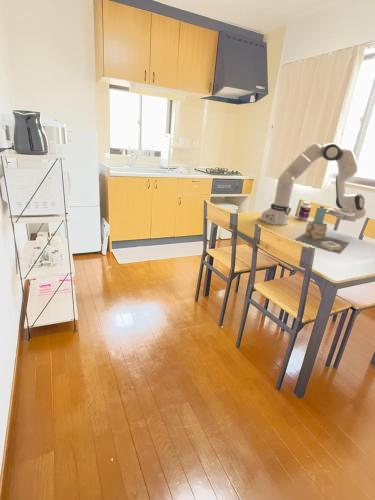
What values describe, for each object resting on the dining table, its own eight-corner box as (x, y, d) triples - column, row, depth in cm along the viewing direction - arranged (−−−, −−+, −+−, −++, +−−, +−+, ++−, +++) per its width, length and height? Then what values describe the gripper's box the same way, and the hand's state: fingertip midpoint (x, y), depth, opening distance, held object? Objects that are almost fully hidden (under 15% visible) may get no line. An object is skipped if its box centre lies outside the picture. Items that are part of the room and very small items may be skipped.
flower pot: (280, 213, 244) (281, 205, 241) (291, 216, 238) (293, 208, 235) (275, 215, 236) (277, 207, 234) (287, 218, 231) (288, 210, 228)
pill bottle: (302, 220, 227) (306, 203, 222) (295, 217, 234) (299, 201, 229) (309, 220, 230) (314, 203, 225) (302, 217, 237) (306, 201, 232)
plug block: (312, 224, 186) (317, 205, 181) (317, 224, 188) (322, 205, 183) (317, 226, 183) (322, 207, 178) (321, 226, 184) (326, 207, 179)
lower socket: (320, 245, 171) (321, 242, 170) (329, 244, 174) (330, 241, 173) (330, 250, 165) (331, 246, 164) (340, 249, 168) (341, 245, 167)
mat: (292, 241, 177) (293, 240, 177) (306, 232, 197) (306, 231, 197) (339, 254, 161) (339, 253, 161) (349, 243, 181) (349, 242, 181)
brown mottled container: (304, 234, 190) (307, 220, 187) (314, 233, 194) (317, 220, 190) (314, 238, 183) (318, 224, 179) (324, 238, 186) (328, 224, 182)
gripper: (334, 205, 199) (320, 206, 194) (360, 213, 182) (345, 214, 177) (332, 214, 202) (318, 214, 197) (357, 222, 185) (342, 223, 179)
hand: (331, 214), depth 187 cm, fingers open, 8 cm apart
